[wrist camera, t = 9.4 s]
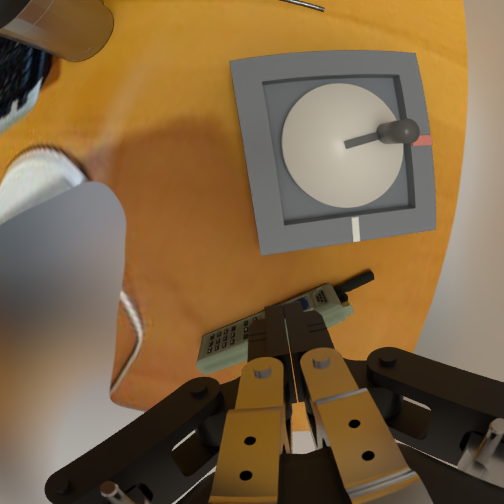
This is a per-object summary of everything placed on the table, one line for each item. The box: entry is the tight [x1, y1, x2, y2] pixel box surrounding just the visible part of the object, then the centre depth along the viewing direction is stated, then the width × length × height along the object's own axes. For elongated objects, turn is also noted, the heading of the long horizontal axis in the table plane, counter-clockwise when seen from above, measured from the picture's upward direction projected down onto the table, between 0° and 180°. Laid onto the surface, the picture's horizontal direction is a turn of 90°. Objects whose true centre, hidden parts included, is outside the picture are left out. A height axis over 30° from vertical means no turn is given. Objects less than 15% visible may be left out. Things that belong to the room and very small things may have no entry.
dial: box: [281, 83, 420, 208], centre depth 30 cm, size 14×14×8 cm
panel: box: [230, 50, 436, 256], centre depth 34 cm, size 22×22×4 cm
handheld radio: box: [196, 271, 374, 375], centre depth 39 cm, size 7×3×25 cm
